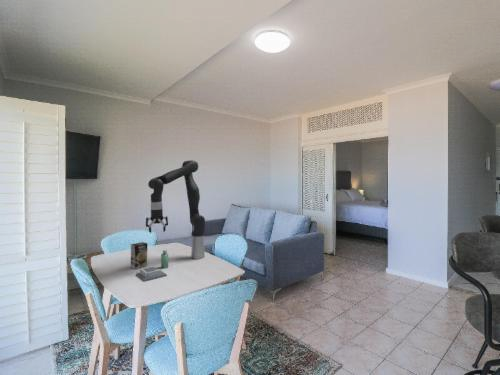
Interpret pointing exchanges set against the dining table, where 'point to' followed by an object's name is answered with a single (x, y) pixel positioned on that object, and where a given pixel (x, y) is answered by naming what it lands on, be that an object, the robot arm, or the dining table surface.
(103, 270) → the dining table surface
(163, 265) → the green bottle
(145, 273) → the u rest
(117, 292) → the dining table surface
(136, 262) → the coffee box
